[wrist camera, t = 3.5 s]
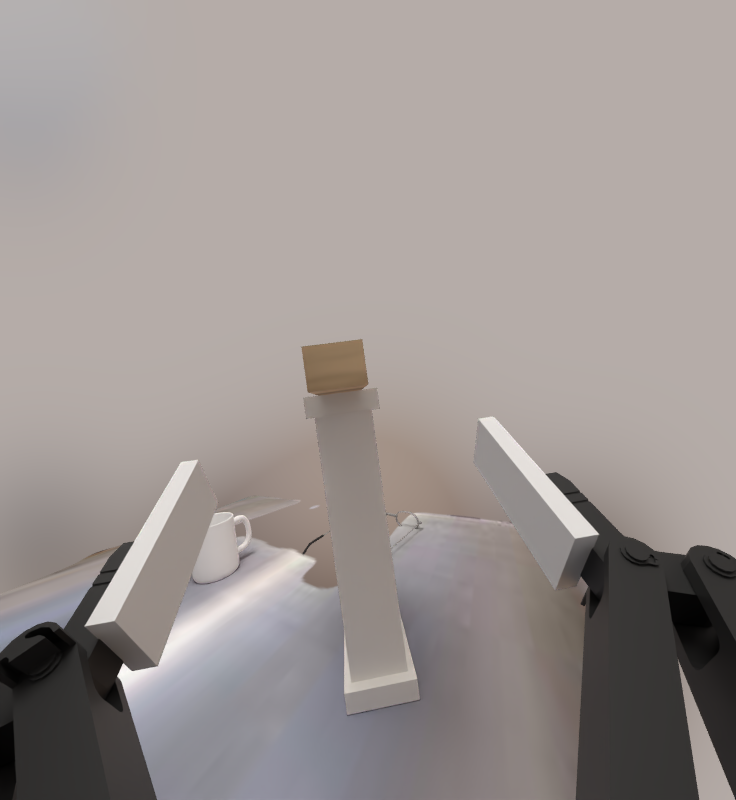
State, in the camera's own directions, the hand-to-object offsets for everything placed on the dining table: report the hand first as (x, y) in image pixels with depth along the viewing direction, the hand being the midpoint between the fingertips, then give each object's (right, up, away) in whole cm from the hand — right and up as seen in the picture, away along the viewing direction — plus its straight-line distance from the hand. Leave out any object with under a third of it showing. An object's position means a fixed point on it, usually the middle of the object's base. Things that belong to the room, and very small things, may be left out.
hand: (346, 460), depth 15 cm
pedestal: (+2, -26, +22) cm, 34 cm away
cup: (-27, -31, +47) cm, 62 cm away
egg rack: (-2, +4, +18) cm, 18 cm away
